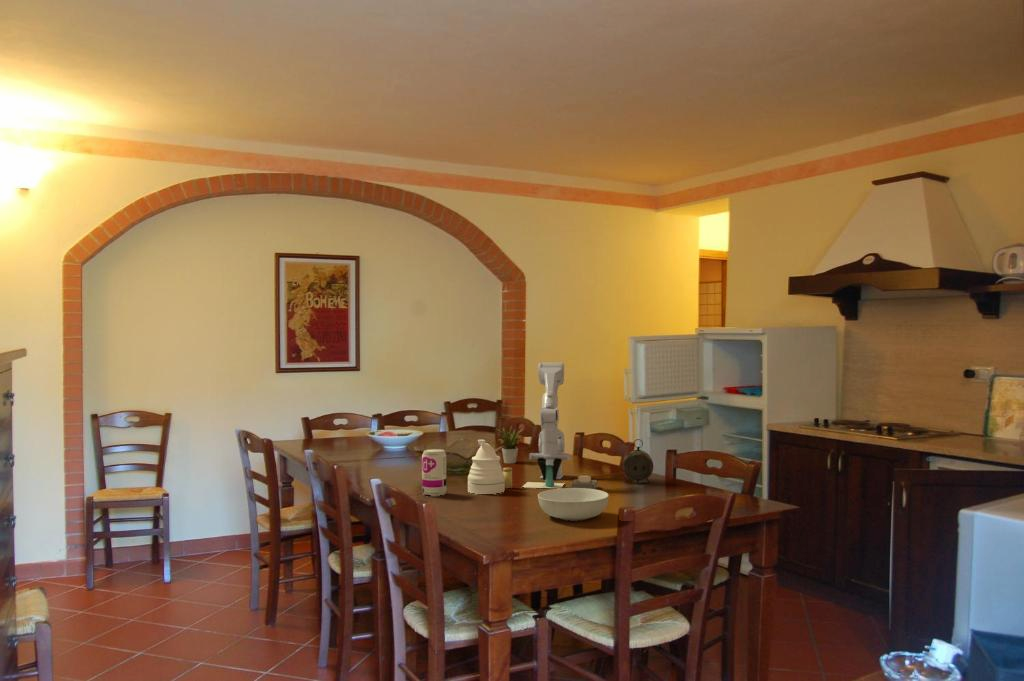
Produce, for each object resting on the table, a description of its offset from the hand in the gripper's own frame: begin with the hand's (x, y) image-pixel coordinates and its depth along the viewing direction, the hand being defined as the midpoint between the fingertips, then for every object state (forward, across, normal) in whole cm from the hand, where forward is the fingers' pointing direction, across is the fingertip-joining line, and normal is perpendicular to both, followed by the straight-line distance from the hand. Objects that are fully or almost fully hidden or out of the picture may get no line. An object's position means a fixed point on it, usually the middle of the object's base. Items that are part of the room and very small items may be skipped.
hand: (549, 479), depth 267 cm
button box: (+3, +12, 0) cm, 13 cm away
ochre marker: (+3, -14, -4) cm, 15 cm away
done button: (+1, +13, -1) cm, 13 cm away
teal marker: (+2, 0, 0) cm, 2 cm away
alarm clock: (+3, +30, +14) cm, 33 cm away
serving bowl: (+3, +14, -44) cm, 47 cm away
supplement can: (+3, -36, -20) cm, 42 cm away
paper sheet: (+3, -2, +2) cm, 4 cm away
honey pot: (+3, -20, -12) cm, 24 cm away
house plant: (+3, -28, +52) cm, 58 cm away
